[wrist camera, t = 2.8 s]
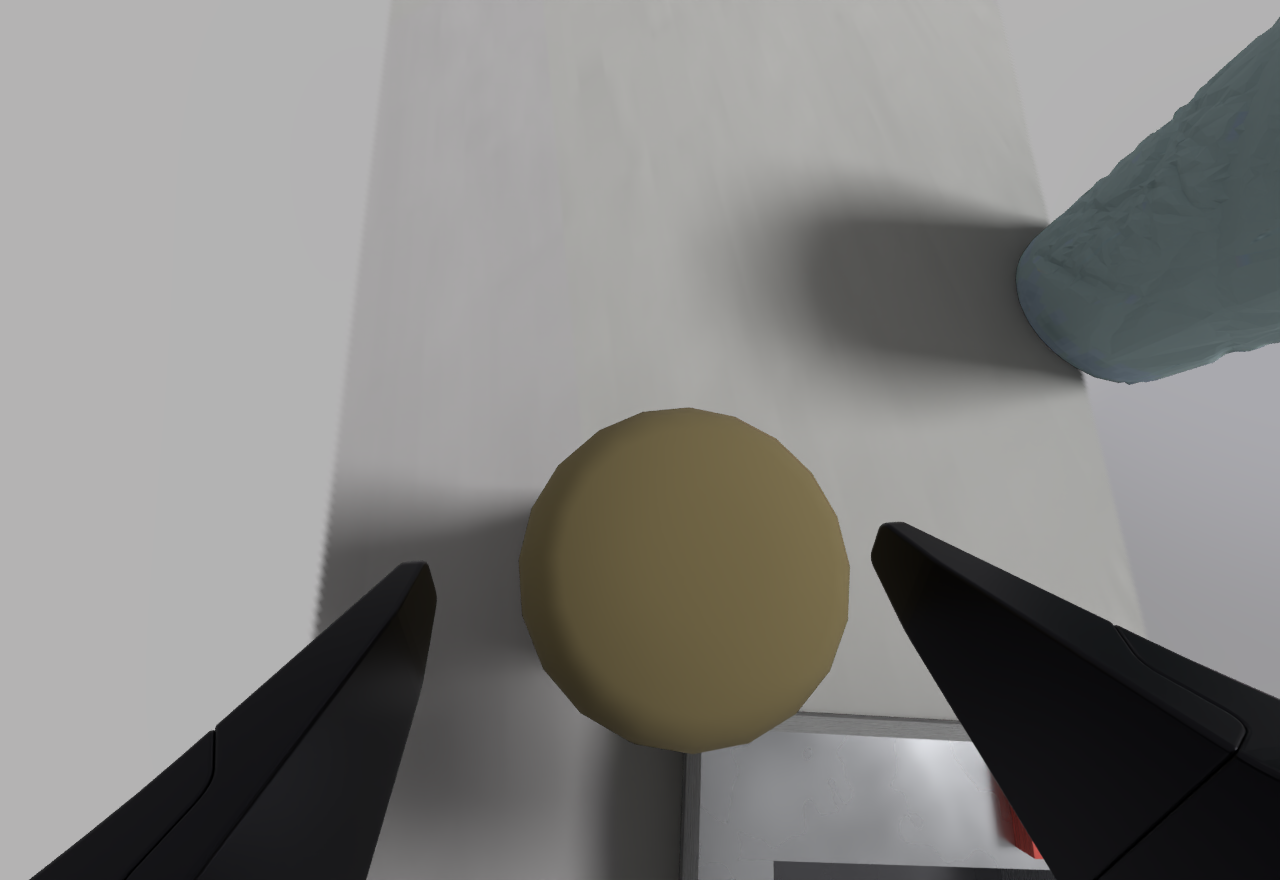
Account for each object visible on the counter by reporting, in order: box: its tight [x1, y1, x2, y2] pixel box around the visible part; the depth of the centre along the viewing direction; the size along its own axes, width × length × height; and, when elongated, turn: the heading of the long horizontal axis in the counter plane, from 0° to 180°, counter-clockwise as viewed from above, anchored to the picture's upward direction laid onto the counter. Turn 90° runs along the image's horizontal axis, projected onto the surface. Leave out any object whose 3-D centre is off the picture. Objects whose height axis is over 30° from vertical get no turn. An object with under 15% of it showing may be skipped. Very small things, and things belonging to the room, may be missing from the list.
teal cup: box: [1016, 17, 1280, 385], centre depth 17 cm, size 10×10×12 cm
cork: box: [519, 408, 850, 754], centre depth 11 cm, size 6×6×11 cm
